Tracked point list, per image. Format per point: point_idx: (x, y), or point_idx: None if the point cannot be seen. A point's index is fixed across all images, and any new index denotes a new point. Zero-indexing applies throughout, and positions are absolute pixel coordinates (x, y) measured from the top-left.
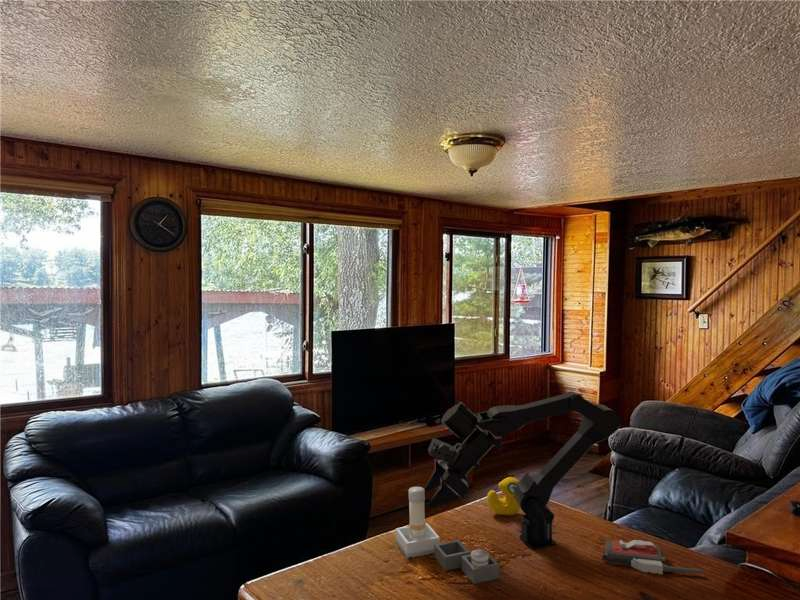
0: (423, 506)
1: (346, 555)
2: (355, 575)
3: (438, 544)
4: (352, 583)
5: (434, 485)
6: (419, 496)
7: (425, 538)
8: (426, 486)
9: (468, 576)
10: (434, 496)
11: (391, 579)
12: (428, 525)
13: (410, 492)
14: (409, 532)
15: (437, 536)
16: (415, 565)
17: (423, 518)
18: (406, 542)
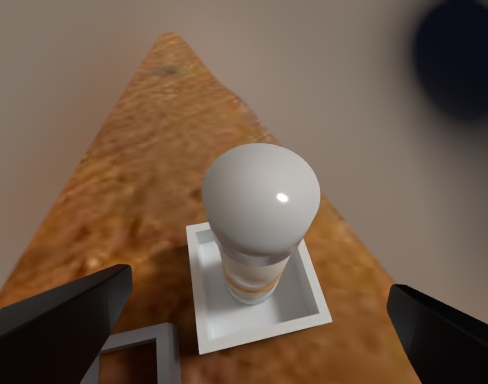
0: (230, 263)
1: (239, 126)
2: (157, 138)
3: (163, 339)
4: (131, 133)
5: (437, 380)
6: (205, 211)
7: (278, 310)
8: (409, 296)
9: None
10: (35, 296)
11: (113, 197)
12: (307, 323)
13: (231, 152)
14: (295, 254)
15: (208, 345)
16: (153, 259)
17: (232, 277)
18: (193, 226)
